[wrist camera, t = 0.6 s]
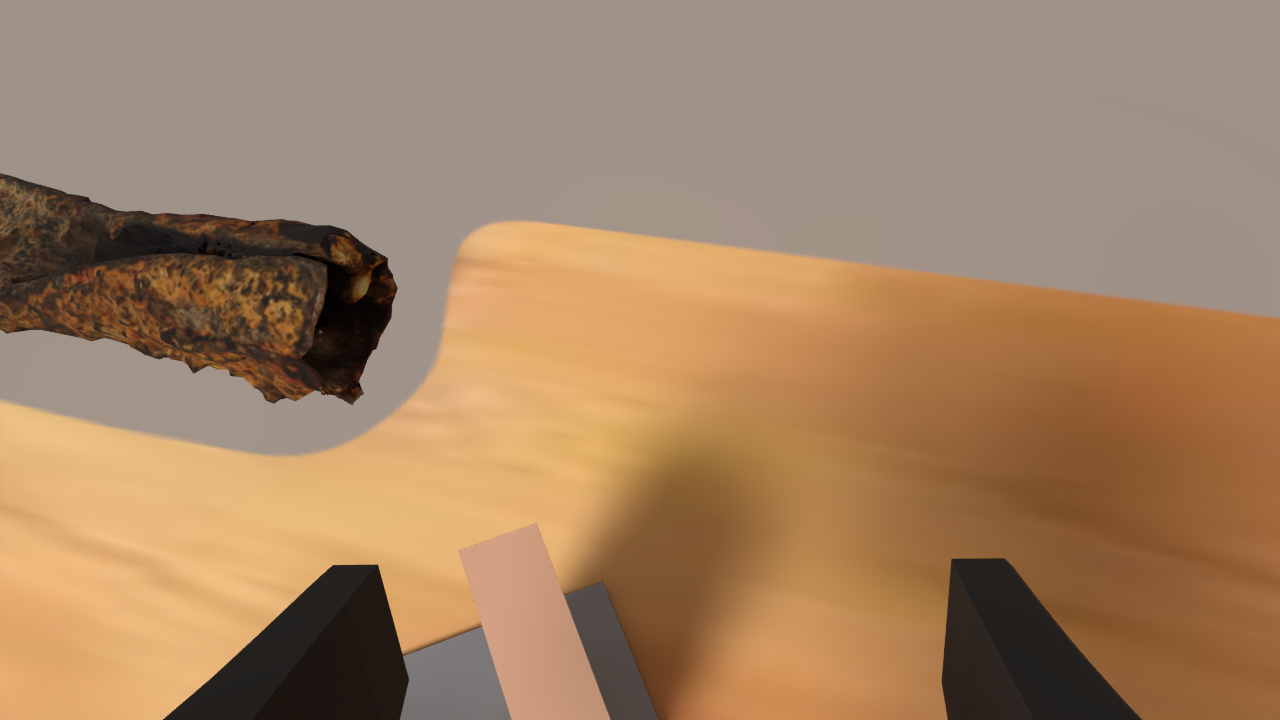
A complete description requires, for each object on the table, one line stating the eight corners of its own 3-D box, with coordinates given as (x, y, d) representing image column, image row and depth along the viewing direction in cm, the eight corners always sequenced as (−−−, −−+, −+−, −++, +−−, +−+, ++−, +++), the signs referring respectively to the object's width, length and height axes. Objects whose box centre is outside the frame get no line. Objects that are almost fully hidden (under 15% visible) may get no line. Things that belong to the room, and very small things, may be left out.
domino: (564, 654, 32) (536, 522, 24) (623, 816, 29) (611, 721, 22) (505, 677, 31) (458, 550, 24) (558, 845, 28) (523, 756, 21)
